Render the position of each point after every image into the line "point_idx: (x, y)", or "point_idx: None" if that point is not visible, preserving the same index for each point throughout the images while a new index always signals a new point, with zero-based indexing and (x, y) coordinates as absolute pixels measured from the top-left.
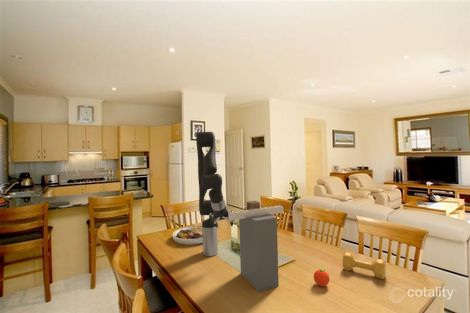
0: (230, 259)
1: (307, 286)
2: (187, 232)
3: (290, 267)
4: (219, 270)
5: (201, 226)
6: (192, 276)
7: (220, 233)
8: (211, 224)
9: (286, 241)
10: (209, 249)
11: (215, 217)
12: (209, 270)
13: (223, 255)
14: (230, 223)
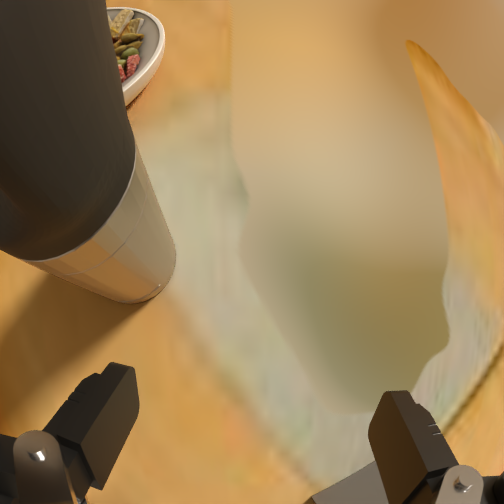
0: (258, 355)
1: None
2: None
3: (485, 408)
4: (202, 473)
5: (115, 10)
6: None
7: (200, 37)
8: (39, 246)
9: (480, 173)
10: (114, 298)
11: (51, 164)
12: (149, 466)
13: (212, 296)
14: (387, 488)
